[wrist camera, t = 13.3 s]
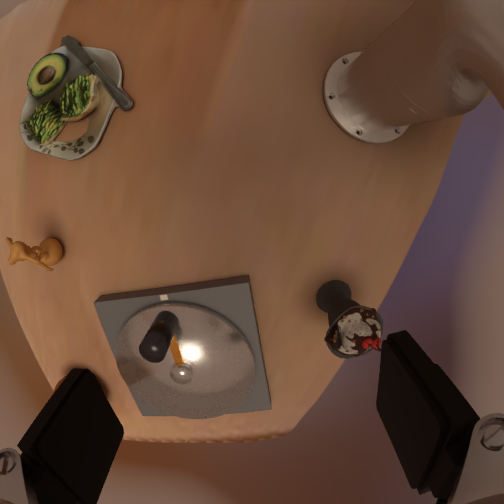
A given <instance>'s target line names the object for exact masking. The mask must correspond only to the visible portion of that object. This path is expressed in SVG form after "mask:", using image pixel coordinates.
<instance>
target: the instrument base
mask: <svg viewBox="0 0 504 504" xmlns="http://www.w3.org/2000/svg"><path fill="white" fill-rule="evenodd" d="M164 302H186V303H191V304H196V305H199V306H202V307H206V308H208V309H210V310H212V311H215V312H217V313H218V314H220V315H222V316H223V317H225V318H226V319H228V320H229V321H230V322H232V323H233V324H234V325H235V326H236V327H237V328H238V329H239V330H240V331H241V332H242V334H243V335H244V336H245V337H246V339H247V341H248V342H249V344H250V346H251V349H252V351H253V354H254V358H255V381H254V385H253V388H252V390H251V392H250V394H249V395H248V397H247V398H246V399H245V401H244V402H243V403H242V404H241V405H239V406H238V407H237V408H235V409H234V410H232V411H230V412H228V413H226V414H232V413H244V412H254V411H262V410H271V409H272V408H271V397H270V392H269V386H268V381H267V375H266V370H265V364H264V359H263V353H262V348H261V342H260V336H259V331H258V325H257V320H256V314H255V308H254V303H253V297H252V291H251V285H250V280H249V275H248V276H241V277H235V278H228V279H221V280H214V281H207V282H200V283H193V284H186V285H178V286H171V287H164V288H156V289H149V290H141V291H133V292H125V293H117V294H109V295H101V296H100V297H99V298H98V299H97V300H96V301H95V302H94V305H95V308H96V311H97V313H98V316H99V319H100V322H101V324H102V327H103V330H104V332H105V335H106V337H107V340H108V342H109V345H110V347H111V350H112V352H113V354H114V357H115V359H116V353H115V350H116V342H117V339H118V336H119V334H120V332H121V330H122V329H123V327H124V326H125V325H126V323H127V322H128V321H129V319H130V318H131V317H132V316H133V315H134V314H136V313H137V312H139V311H140V310H142V309H144V308H146V307H148V306H151V305H154V304H158V303H164ZM127 386H128V385H127ZM128 388H129V387H128ZM129 390H130V392H131V394H132V396H133V398H134V400H135V402H136V404H137V406H138V408H139V410H140V412H141V414H142V415H143V416H173V415H170V414H167V413H164V412H162V411H159V410H157V409H155V408H154V407H152V406H150V405H149V404H147V403H145V402H144V401H143V400H142V399H140V398H139V397H138V396H137V395H136V394H135V393H134V392H133V391H132V390H131V389H130V388H129Z"/></svg>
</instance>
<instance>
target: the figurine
mask: <svg viewBox="0 0 504 504" xmlns="http://www.w3.org/2000/svg"><path fill="white" fill-rule="evenodd" d="M11 239H12V238H8V237H7V238H6V241H7V243H8V245H9V248H10V251H11V252H10V256H9V259H8V262H9V264H10V265H14V264H15V263H16V262H17V261H24V260H28V261H30V262H33V263H36V264H38V265H40V266H42V267H43V268H45V269H47V270H49V271H51V270H52V268H50V267H48V266H52V265H55V264H57V263H58V262H59V261H60V259H61V257H62V246H61V244H60V243H59V242H58V241H57V240H56V239H53V238H47V239H45V240H43V241H42V242H41V243H40V245H39V247H38V246H33V247H32V248H30V246H27V245H26V244H25V243H23V242H21V241H16V242H14V243H13V242H12V240H11ZM36 249H37V250H38V253H36V252H35V251H36ZM46 265H48V266H46ZM52 271H53V270H52Z"/></svg>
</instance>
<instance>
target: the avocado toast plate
mask: <svg viewBox="0 0 504 504" xmlns="http://www.w3.org/2000/svg"><path fill="white" fill-rule="evenodd" d="M61 42H62V44H61V46H60V47H59V48H57V49H56V50H54V51H53V52H51V53H50V54H48V55H46V56H44V57H43V58H41V59H40V60H39V61H38V62H37V63H36V65H35V66H34V67H33V69H32V71H31V73H30V75H29V78H28V81H27V86H28V91H29V94H28V97H27V99H26V102H25V105H24V108H23V111H22V114H21V118H20V133H21V136H22V138H23V141H24V143H25V144H26V145H27V146H28V147H29V148H30V149H32V150H35V151H37V152H40V153H45V154H48V155H51V156H54V157H56V158H60V159H66V160H75V159H78V158H82V157H84V156H85V155H86V154H88V153H89V152H90V151H92V150H93V149H95V148H96V146H97V144H98V143H99V141H100V139H101V137H102V135H103V133H104V131H105V129H106V126H107V124H108V122H109V119H110V116H111V114H112V112H113V110H114V109H115V107H119V108H120V109H121V110H123V111H126V110H128V109H130V108H131V107H132V105H133V101H132V100H131V98H130V97H129V96H128V95H127V94H126V93H125V92H124V91H123V89H122V70H121V66H120V63H119V61H118V59H117V56H116V55H115V54H114V53H113V52H111V51H108V50H105V49H100V48H92V47H82V46H80V45H79V42H78V41H77V40H76V39H74V38H73V37H71V36H69V35H68V36H66V37H63V38H62V40H61ZM87 72H88V73H89V75H88V76H85V74H86V73H87ZM85 117H88V118H89V125H88V131H87V132H86V133H85V134H84V135H83V136H81V137H80V138H78V139H75V140H73V141H70V142H58V141H54V139H55V138H56V137H57V136H58V135H59V133H60V132H61V131H62V129H63V128H64V126H65V125H66V124H67V123H68V121H78V120H80V119H82V118H85Z"/></svg>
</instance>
